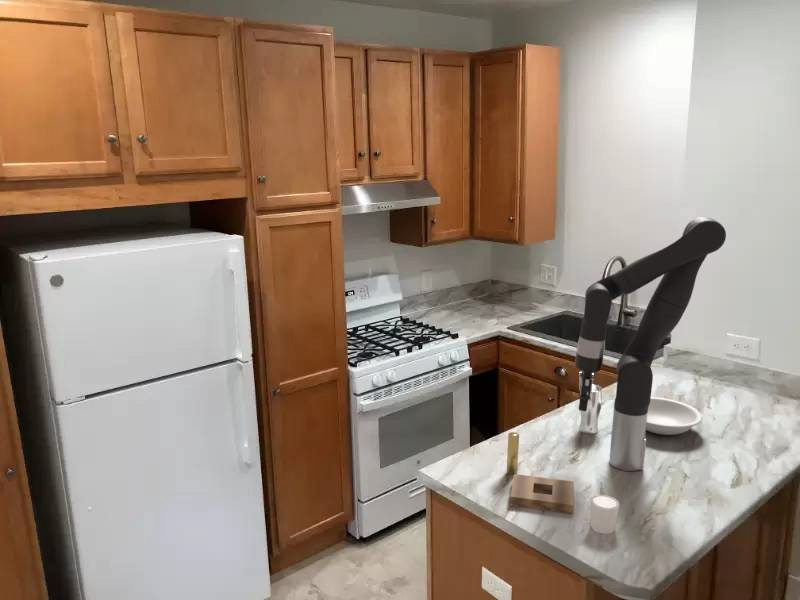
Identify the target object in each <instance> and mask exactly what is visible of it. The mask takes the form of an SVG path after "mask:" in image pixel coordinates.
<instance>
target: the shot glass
mask: <svg viewBox="0 0 800 600" xmlns="http://www.w3.org/2000/svg"><path fill="white" fill-rule="evenodd" d="M589 500H590V501H589V503H590V504H589V506H590V509H589V510H590V512H589V513H590V527H591V528H592V530H594V531H596V532H597V533H600V534H603V535H604V534H606V535H608V534H612V533H614V531H615V529H616V524H617V519H618V515H619V509H620V502H619V500H617V498H615V497H613V496H610V495H606V494H594V495H592V496H591V497H590V499H589Z"/></svg>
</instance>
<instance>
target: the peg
mask: <svg viewBox="0 0 800 600" xmlns="http://www.w3.org/2000/svg"><path fill="white" fill-rule="evenodd" d="M507 435H508V436H507V454H506V457H507V459H506V474H507V475H508V476H512V477H514V474H518V466H519V465H518V464H519V449H520V448H519V443H520V434H519V433H517V432H515V431H511V432H508V434H507Z"/></svg>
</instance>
